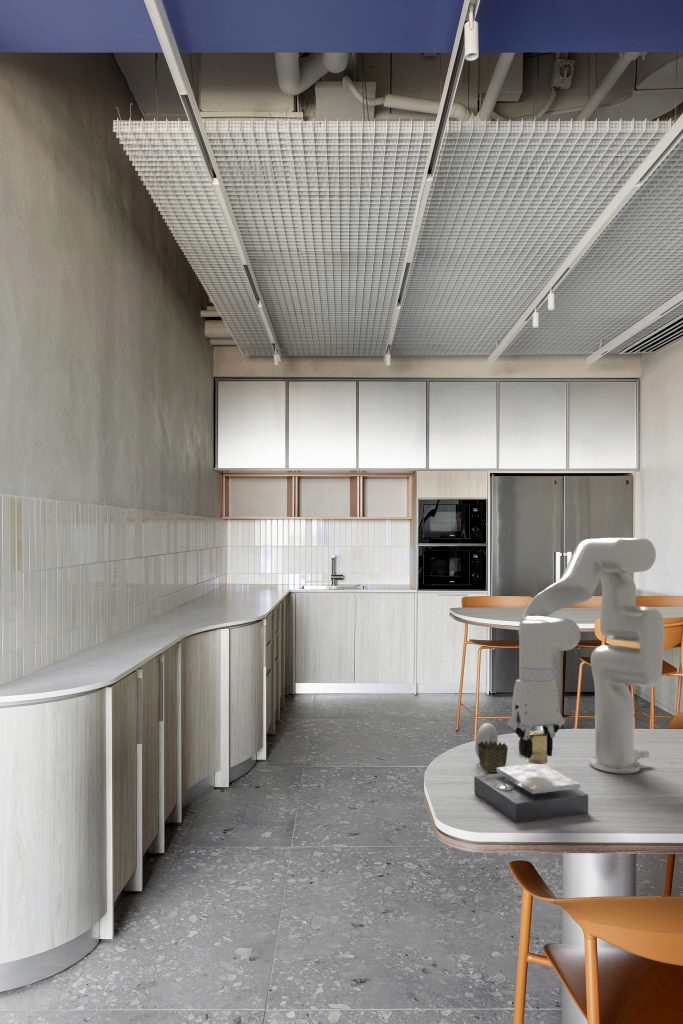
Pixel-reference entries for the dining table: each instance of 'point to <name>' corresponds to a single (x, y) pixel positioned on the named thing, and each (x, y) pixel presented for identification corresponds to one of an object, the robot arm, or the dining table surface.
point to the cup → (492, 756)
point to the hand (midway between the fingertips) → (536, 754)
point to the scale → (528, 800)
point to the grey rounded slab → (485, 735)
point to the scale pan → (537, 778)
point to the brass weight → (538, 748)
